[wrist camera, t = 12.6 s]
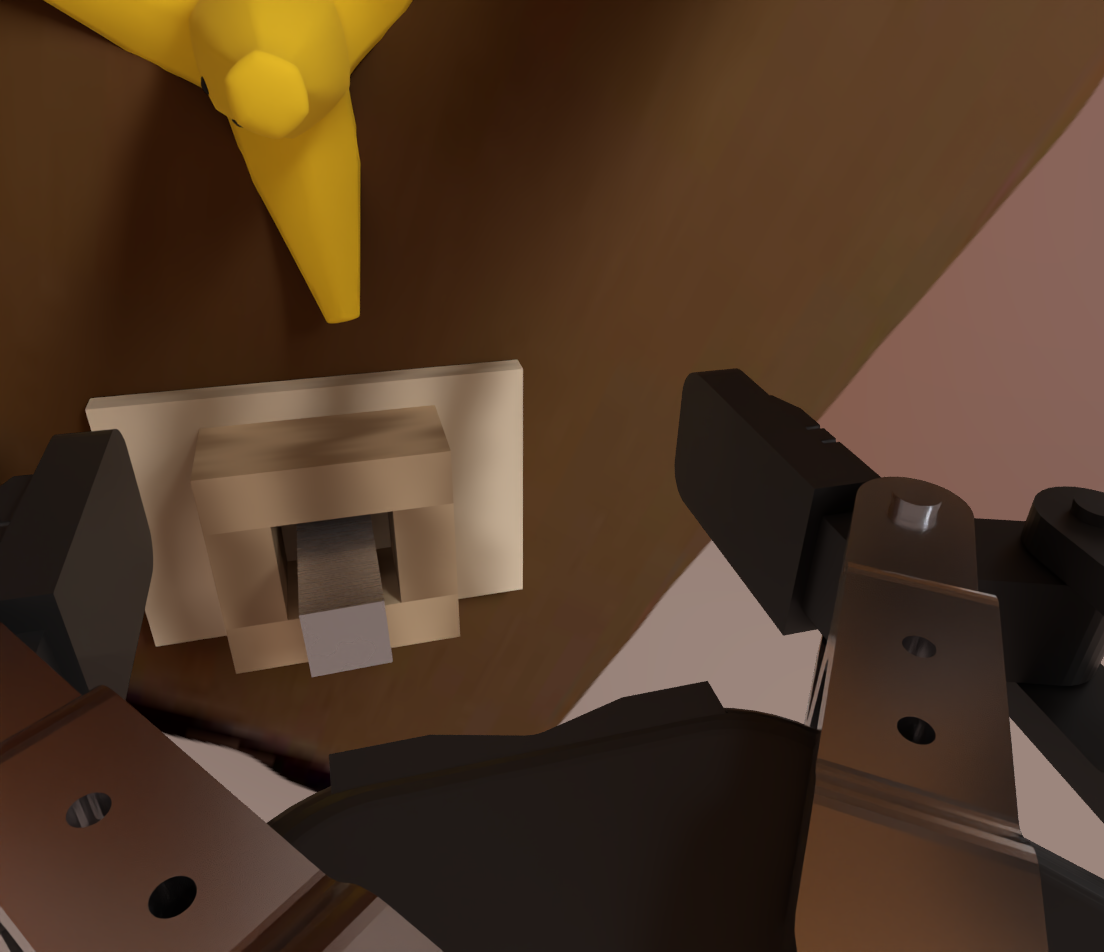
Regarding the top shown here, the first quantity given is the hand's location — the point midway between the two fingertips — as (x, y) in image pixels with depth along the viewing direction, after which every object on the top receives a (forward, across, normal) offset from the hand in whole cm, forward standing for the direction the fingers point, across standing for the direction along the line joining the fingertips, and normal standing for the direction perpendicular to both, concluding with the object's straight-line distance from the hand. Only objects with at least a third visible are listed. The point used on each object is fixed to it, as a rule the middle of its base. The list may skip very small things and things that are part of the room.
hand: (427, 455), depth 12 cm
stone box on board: (+28, +2, +18) cm, 33 cm away
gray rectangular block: (+27, +2, +18) cm, 32 cm away
